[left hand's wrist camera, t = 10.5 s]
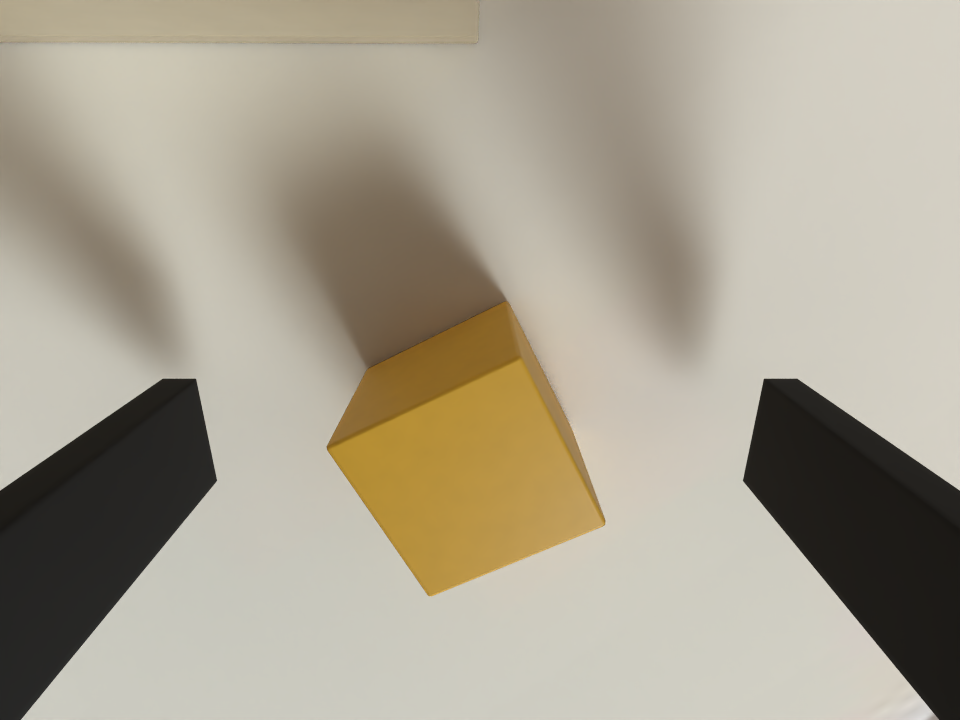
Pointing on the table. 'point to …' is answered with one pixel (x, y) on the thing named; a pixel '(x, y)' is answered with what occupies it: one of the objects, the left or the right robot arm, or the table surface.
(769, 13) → the table surface
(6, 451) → the table surface
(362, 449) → the block
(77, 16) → the chest
